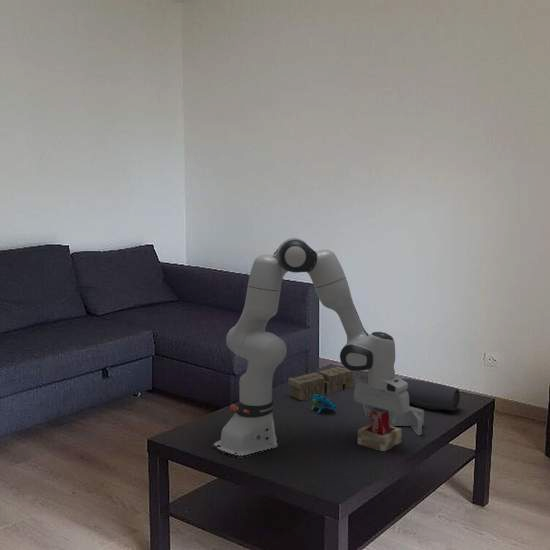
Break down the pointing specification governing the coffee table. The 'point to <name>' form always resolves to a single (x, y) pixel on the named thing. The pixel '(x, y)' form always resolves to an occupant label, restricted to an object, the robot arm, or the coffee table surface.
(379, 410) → the beverage can
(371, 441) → the bore block
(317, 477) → the coffee table surface
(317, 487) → the coffee table surface
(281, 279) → the robot arm
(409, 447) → the coffee table surface
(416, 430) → the v-block
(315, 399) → the blue toy figure
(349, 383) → the block tower
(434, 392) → the bluetooth speaker
